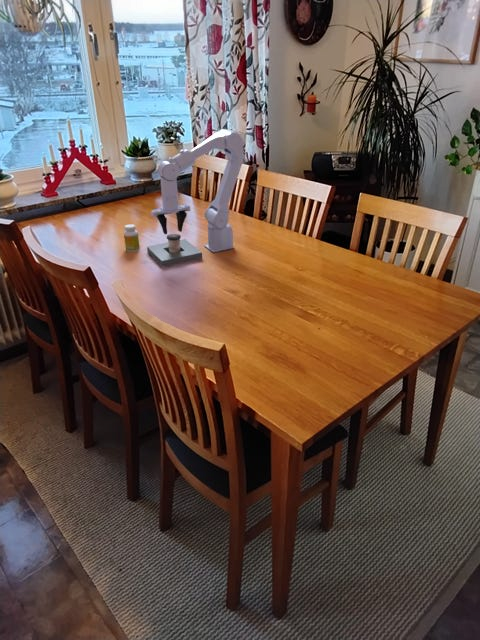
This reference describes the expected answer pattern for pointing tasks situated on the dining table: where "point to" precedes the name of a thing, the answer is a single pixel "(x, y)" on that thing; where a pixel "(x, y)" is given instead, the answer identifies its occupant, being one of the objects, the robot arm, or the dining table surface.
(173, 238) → the capped peg
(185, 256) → the socket block
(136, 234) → the supplement bottle
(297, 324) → the dining table surface
